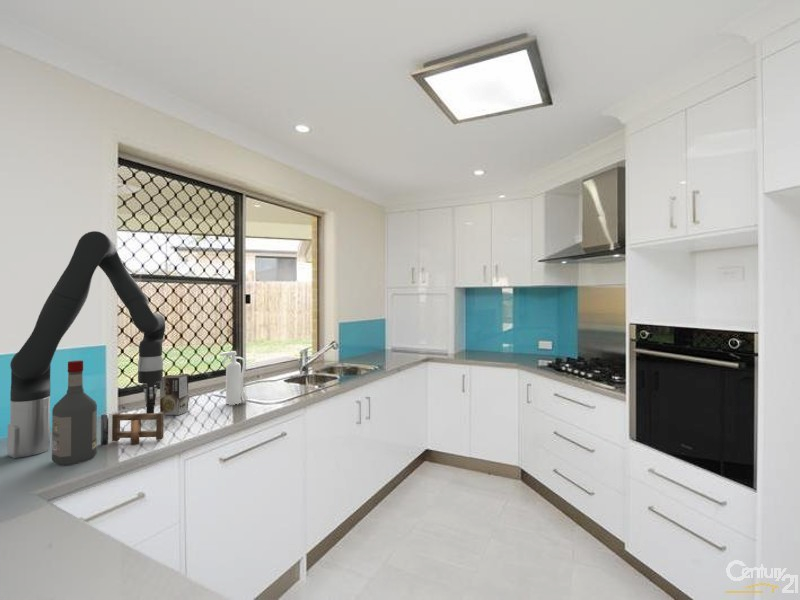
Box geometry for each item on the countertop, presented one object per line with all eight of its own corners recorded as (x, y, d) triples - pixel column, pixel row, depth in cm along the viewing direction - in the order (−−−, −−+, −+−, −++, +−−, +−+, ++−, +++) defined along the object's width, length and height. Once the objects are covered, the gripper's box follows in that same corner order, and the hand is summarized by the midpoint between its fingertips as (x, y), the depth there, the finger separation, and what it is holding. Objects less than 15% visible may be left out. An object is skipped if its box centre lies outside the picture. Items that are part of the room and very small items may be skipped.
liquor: (62, 468, 111) (63, 364, 111) (49, 461, 116) (50, 362, 116) (99, 457, 119) (100, 360, 119) (85, 451, 124) (86, 358, 124)
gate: (112, 441, 131) (112, 414, 131) (115, 439, 133) (115, 413, 133) (161, 439, 133) (161, 413, 133) (163, 438, 135) (163, 412, 135)
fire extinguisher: (248, 403, 182) (247, 350, 182) (220, 406, 178) (219, 352, 178) (249, 400, 188) (248, 349, 189) (222, 403, 184) (221, 351, 185)
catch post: (132, 445, 129) (133, 421, 129) (129, 444, 130) (129, 420, 130) (140, 443, 131) (140, 420, 131) (137, 442, 132) (137, 418, 132)
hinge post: (102, 445, 129) (102, 415, 129) (99, 444, 130) (99, 414, 130) (109, 443, 130) (109, 414, 130) (106, 442, 131) (106, 413, 131)
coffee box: (188, 411, 169) (189, 374, 169) (179, 415, 163) (179, 377, 163) (169, 410, 170) (169, 374, 170) (159, 414, 164) (159, 377, 164)
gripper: (164, 370, 135) (163, 419, 135) (161, 365, 145) (161, 410, 145) (138, 372, 130) (137, 423, 130) (137, 367, 141) (137, 414, 141)
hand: (150, 416), depth 138 cm, fingers closed
